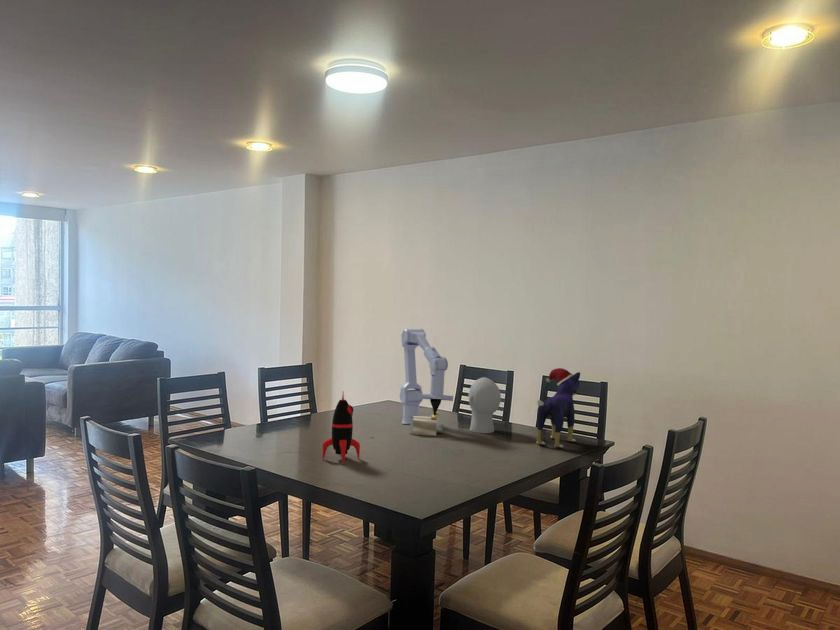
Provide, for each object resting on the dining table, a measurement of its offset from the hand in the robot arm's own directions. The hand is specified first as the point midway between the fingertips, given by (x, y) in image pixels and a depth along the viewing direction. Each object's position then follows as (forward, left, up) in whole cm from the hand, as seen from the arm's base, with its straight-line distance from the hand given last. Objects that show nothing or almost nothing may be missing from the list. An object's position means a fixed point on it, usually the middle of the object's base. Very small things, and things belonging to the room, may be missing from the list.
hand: (435, 416), depth 271 cm
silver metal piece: (0, -4, -7) cm, 8 cm away
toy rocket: (+48, -36, -8) cm, 60 cm away
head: (-7, +21, -8) cm, 24 cm away
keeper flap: (0, -2, -1) cm, 2 cm away
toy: (+13, +48, -8) cm, 50 cm away
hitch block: (0, -5, -7) cm, 9 cm away
